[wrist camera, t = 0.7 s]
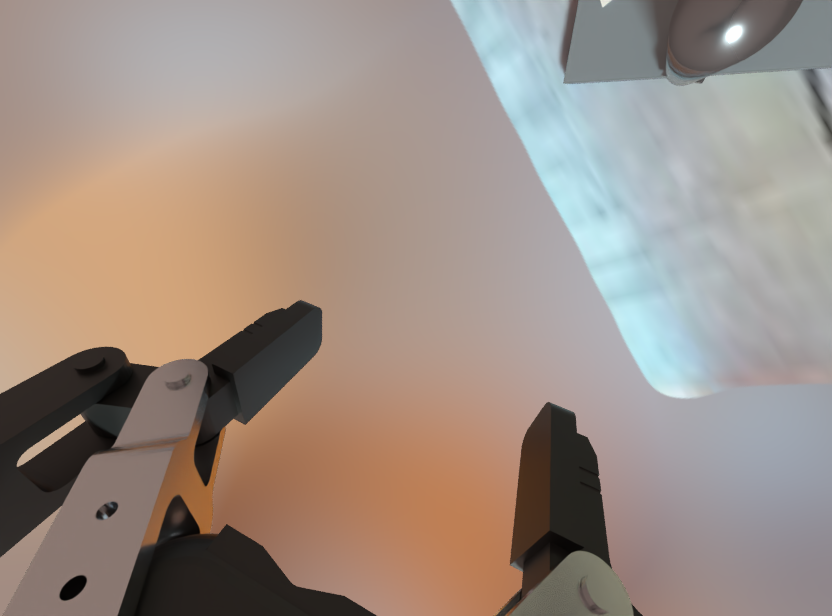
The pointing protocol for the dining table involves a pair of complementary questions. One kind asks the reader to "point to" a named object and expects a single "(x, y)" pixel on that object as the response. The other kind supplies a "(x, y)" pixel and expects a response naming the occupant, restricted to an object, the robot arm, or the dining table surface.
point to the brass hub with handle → (720, 34)
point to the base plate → (648, 39)
